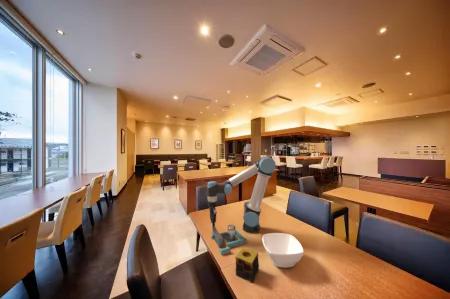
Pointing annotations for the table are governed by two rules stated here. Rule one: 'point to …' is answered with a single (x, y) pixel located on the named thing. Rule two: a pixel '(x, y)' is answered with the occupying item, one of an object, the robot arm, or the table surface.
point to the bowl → (283, 249)
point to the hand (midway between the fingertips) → (213, 229)
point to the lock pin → (217, 237)
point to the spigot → (231, 233)
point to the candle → (247, 264)
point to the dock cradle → (231, 244)
